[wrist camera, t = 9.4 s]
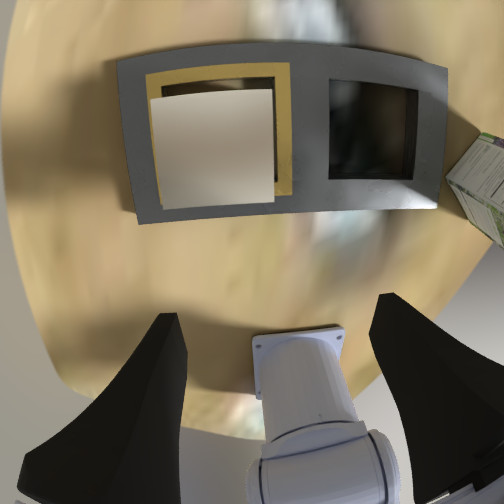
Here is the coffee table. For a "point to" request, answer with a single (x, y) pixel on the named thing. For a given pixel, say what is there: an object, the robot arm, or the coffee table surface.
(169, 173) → the peg
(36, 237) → the coffee table surface
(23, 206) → the coffee table surface
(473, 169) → the syrup box
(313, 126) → the rail
